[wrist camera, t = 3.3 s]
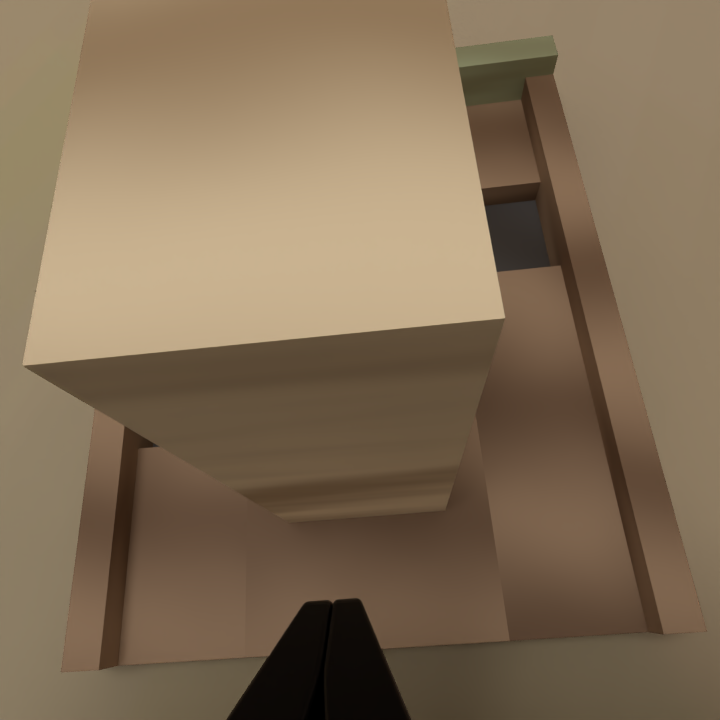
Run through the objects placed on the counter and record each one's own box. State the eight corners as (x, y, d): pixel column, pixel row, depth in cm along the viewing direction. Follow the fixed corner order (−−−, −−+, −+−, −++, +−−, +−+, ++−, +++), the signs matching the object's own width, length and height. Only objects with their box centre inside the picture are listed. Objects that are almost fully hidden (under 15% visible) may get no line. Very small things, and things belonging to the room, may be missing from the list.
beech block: (445, 510, 16) (506, 318, 5) (289, 522, 16) (21, 366, 5) (422, 322, 18) (429, -89, 7) (286, 336, 19) (99, -41, 8)
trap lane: (669, 627, 15) (723, 633, 13) (104, 663, 16) (41, 676, 14) (536, 102, 23) (552, 35, 20) (157, 148, 24) (123, 90, 21)
